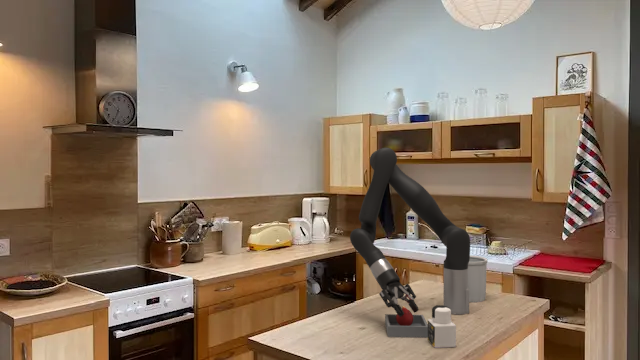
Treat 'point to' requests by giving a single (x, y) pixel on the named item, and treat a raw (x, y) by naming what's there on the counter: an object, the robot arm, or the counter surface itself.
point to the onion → (405, 318)
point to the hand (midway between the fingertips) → (409, 313)
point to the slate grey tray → (406, 327)
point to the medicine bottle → (441, 328)
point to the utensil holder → (477, 278)
